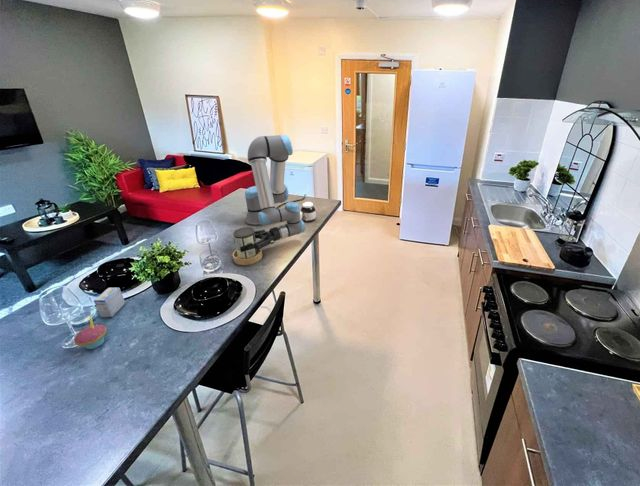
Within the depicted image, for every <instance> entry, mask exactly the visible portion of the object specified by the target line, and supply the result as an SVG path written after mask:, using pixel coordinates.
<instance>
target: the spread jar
mask: <svg viewBox="0 0 640 486" xmlns="http://www.w3.org/2000/svg"><path fill="white" fill-rule="evenodd" d="M316 218H317V210H316V208H315V206H314V203H313V202H311V201H305V202H303V203H302V207H301V208H300V220H302V221H303V222H307V223H309V222H312V221H314V220H315V219H316Z"/></svg>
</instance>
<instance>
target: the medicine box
mask: <svg viewBox="0 0 640 486" xmlns="http://www.w3.org/2000/svg"><path fill="white" fill-rule="evenodd" d="M93 302H94V305H95V308H96V310H97V311H98V313H99V316H100V318H113V317H114V316H115V315H116V314H117V313H118V311H120V310H121V309H122V307H124V306H125V305H126V300H125V298H124V297H123V293H122V291H121V288H120V287H107V288H106V289H105V290H104V291H103V292H102V293H101V294H99V295H98V296H97V297H96V298H95V299H94V300H93Z"/></svg>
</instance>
